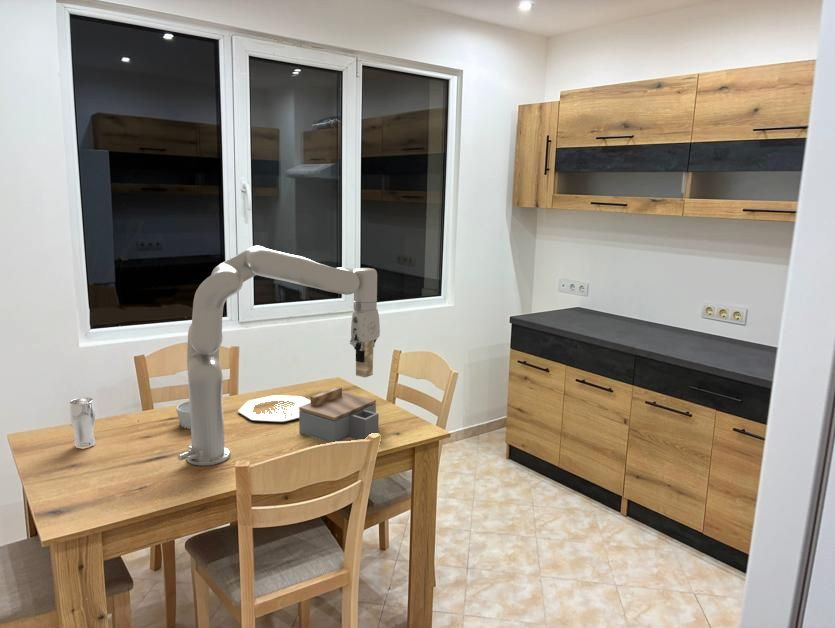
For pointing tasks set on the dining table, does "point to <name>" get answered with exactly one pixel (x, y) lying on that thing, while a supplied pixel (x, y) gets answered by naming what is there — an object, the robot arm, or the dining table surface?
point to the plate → (274, 417)
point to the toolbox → (340, 425)
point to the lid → (336, 404)
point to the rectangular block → (366, 361)
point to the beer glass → (83, 421)
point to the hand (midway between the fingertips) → (364, 359)
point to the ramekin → (184, 414)
